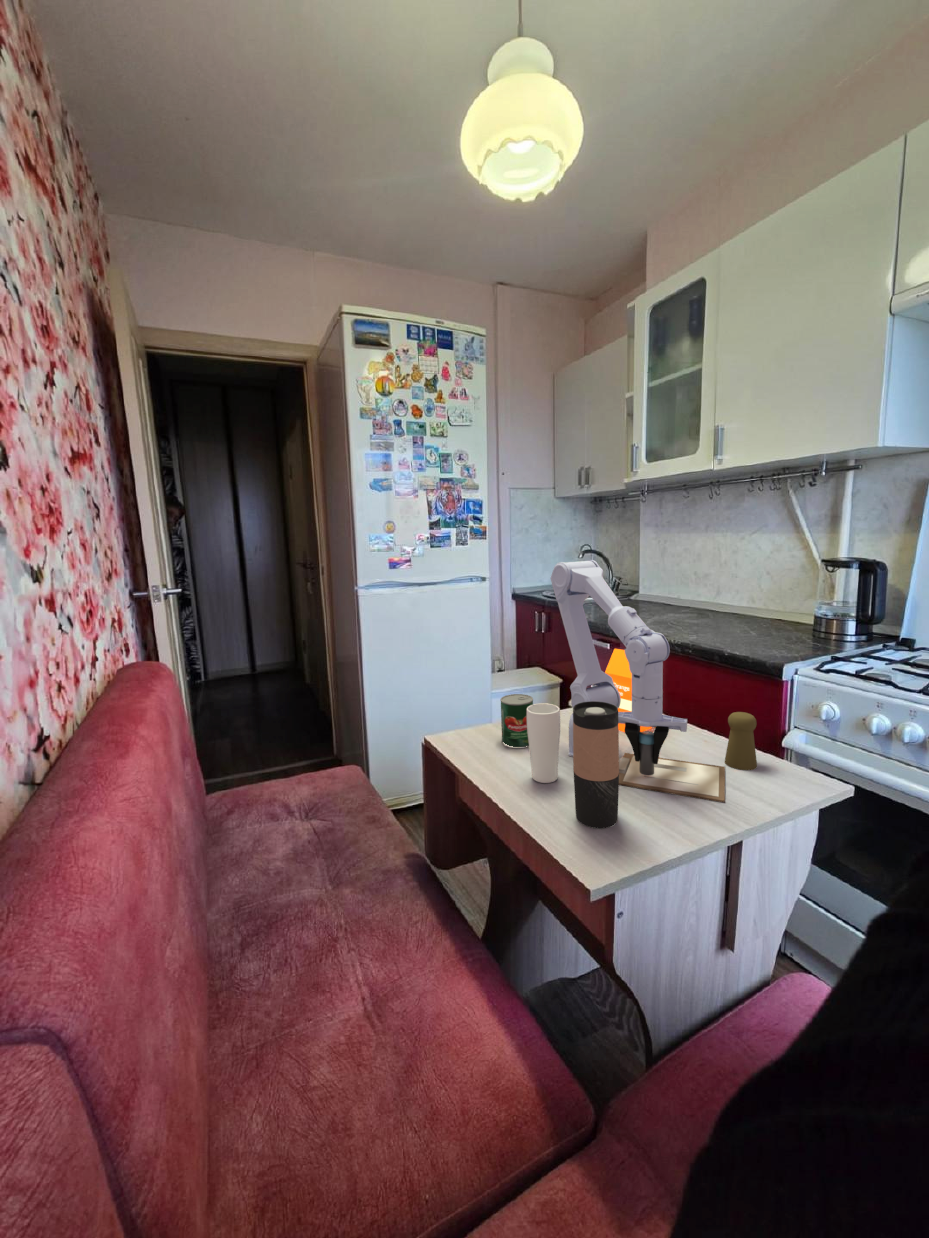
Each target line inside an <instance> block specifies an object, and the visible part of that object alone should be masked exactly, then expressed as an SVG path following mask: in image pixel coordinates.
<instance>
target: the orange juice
mask: <svg viewBox="0 0 929 1238" xmlns="http://www.w3.org/2000/svg"><path fill="white" fill-rule="evenodd" d="M604 673H606V674H608V675H609V676H611V677H612V679H613V683H614V685H615V687H616V688H617V689H618V691H619V694H620V698H621V703H620V706H619V708H618V712H632V673H631V672H630V670H629V662H628V660H627V658H626V656H625V649H619V648H614V649H613V652H612V654H611V656H610V659H609V661H608V664H607V666H606V668H605V672H604ZM618 729H619V731H620V732H622V733H625V731H624V729H625V724H621V723H618ZM651 729H653V727H643V726H640V732H643V731H648V730H651Z"/></svg>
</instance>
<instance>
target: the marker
mask: <svg viewBox="0 0 929 1238" xmlns="http://www.w3.org/2000/svg"><path fill="white" fill-rule="evenodd" d="M653 758H654V732H652V731H648V730H646V731H643V732H640V733H639V772H640V773H641V774H643V775H653V774H654V764H653Z"/></svg>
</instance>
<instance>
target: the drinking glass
mask: <svg viewBox="0 0 929 1238" xmlns="http://www.w3.org/2000/svg"><path fill="white" fill-rule="evenodd" d="M526 719H527V734H528V742H529V747H528V749H529V756H530V766H531V777H532V779H533V781H536V782H537V783H540V784H541V783H542V784H550V783H553V782H556V781H557V779H558V778H559V777H558V776H559V754H560V738H561V708H560V707H559V706H558V705H556V704H552V703H543V702H542V703H533V705H530V706H528V707H527V715H526Z"/></svg>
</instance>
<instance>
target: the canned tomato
mask: <svg viewBox="0 0 929 1238" xmlns="http://www.w3.org/2000/svg"><path fill="white" fill-rule="evenodd" d="M533 704H534V698H533V697H532V696H531V695H528V694H525V693H524V694H523V693H514V694H507V695H504V696H502V697H501V698H500V718H501V719H500V720H501V721H500V722H501V743H502V742H504V743H505V744H507V745H509V746H513V747H526V746H529V742H528V734H527V719H526V715H527V707H528V706H530V705H533ZM526 748H527V747H526Z"/></svg>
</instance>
